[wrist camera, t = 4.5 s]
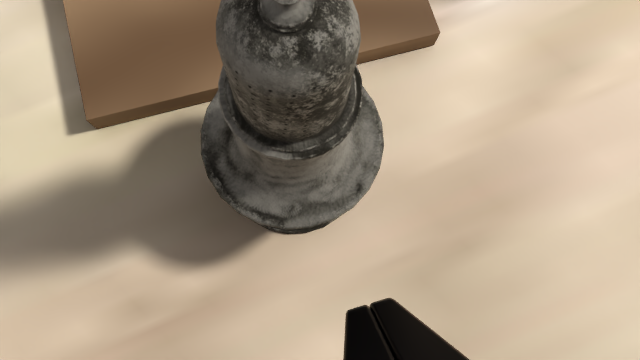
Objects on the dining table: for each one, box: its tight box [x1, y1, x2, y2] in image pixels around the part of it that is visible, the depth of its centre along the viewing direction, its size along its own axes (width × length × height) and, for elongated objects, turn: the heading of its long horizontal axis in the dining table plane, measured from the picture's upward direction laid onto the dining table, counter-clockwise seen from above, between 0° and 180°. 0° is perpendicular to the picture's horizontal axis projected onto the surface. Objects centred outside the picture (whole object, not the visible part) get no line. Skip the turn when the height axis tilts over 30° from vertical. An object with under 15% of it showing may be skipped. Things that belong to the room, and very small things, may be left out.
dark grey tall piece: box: [201, 0, 384, 234], centre depth 14 cm, size 6×6×12 cm
